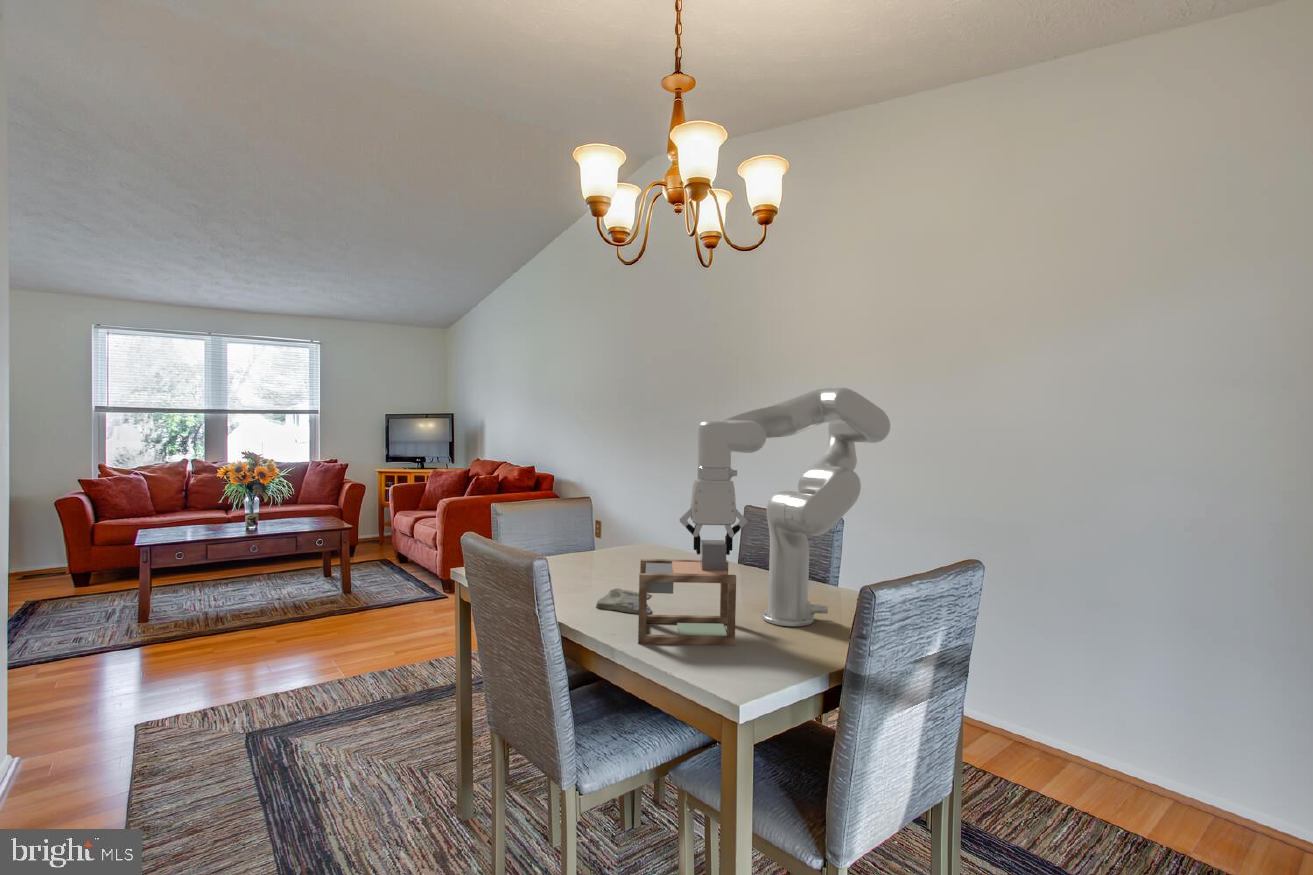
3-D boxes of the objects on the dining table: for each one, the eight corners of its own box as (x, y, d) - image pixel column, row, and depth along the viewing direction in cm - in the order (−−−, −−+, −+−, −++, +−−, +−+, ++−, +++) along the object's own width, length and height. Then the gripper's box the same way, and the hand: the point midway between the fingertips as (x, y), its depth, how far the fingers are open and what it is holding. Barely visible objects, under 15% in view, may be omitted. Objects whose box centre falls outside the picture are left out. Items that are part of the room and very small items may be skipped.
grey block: (723, 565, 151) (723, 540, 151) (725, 571, 146) (726, 544, 145) (700, 565, 151) (700, 539, 151) (701, 570, 146) (702, 544, 145)
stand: (638, 643, 140) (639, 574, 140) (639, 620, 156) (640, 558, 156) (734, 645, 141) (736, 576, 140) (726, 622, 157) (727, 560, 156)
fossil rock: (610, 594, 181) (610, 586, 181) (662, 598, 178) (662, 590, 178) (591, 612, 164) (592, 603, 164) (649, 617, 161) (649, 607, 161)
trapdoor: (644, 592, 142) (645, 572, 142) (645, 579, 154) (645, 560, 154) (727, 594, 142) (728, 574, 142) (721, 581, 154) (722, 562, 154)
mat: (723, 625, 154) (723, 623, 154) (728, 641, 143) (728, 639, 143) (677, 624, 154) (677, 622, 154) (679, 640, 143) (679, 638, 143)
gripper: (749, 474, 151) (748, 550, 152) (675, 473, 151) (674, 549, 152) (754, 477, 144) (753, 557, 144) (676, 475, 144) (675, 556, 144)
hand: (712, 552), depth 148 cm, fingers open, 6 cm apart
